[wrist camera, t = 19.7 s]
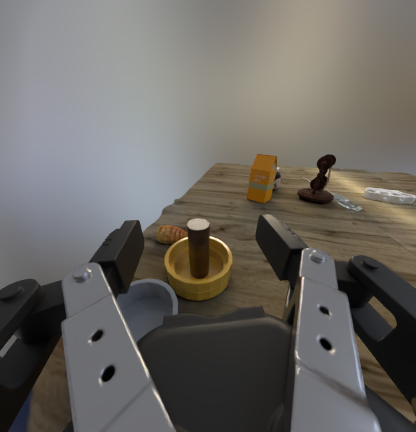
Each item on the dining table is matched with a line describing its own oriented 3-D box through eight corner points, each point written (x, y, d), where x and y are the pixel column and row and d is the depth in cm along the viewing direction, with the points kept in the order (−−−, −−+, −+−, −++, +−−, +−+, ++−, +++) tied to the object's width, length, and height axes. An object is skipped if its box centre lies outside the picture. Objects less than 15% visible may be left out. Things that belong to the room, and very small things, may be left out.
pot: (116, 413, 19) (103, 400, 16) (89, 330, 26) (77, 313, 24) (195, 329, 27) (194, 312, 24) (156, 284, 34) (152, 268, 32)
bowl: (197, 318, 28) (196, 299, 26) (155, 273, 37) (151, 255, 34) (242, 272, 37) (245, 254, 35) (200, 244, 46) (200, 228, 44)
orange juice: (264, 203, 72) (273, 157, 62) (246, 198, 77) (252, 155, 67) (270, 198, 77) (280, 155, 67) (254, 194, 82) (260, 153, 72)
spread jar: (261, 191, 86) (265, 169, 80) (255, 184, 96) (258, 164, 90) (283, 191, 86) (288, 169, 81) (274, 184, 96) (279, 164, 91)
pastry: (190, 233, 51) (189, 223, 49) (184, 247, 45) (183, 236, 43) (162, 231, 52) (161, 221, 50) (153, 244, 46) (151, 233, 44)
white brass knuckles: (400, 196, 80) (419, 207, 69) (356, 191, 87) (366, 200, 75) (404, 190, 79) (424, 200, 67) (359, 185, 85) (370, 194, 74)
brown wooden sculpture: (328, 208, 68) (348, 159, 58) (292, 198, 77) (304, 155, 67) (334, 198, 77) (352, 155, 68) (301, 191, 86) (313, 152, 76)
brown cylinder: (199, 282, 34) (197, 233, 28) (186, 271, 37) (182, 224, 31) (212, 271, 37) (214, 223, 31) (200, 261, 40) (198, 216, 33)
